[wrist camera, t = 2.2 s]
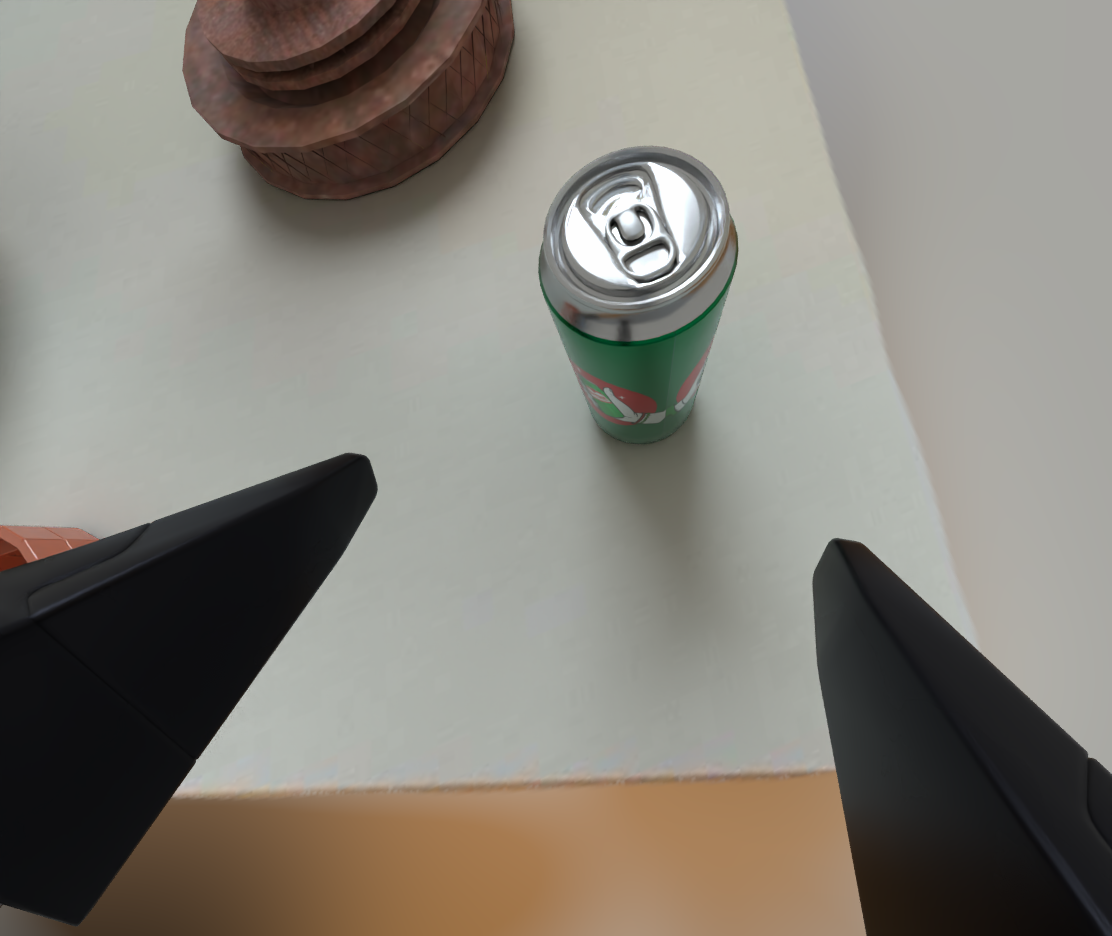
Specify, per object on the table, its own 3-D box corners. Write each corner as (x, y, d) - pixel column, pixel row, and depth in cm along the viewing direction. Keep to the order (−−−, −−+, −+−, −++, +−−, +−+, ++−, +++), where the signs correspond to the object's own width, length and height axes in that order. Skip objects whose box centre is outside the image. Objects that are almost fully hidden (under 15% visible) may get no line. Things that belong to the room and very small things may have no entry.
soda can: (666, 333, 22) (688, 95, 11) (711, 421, 21) (792, 260, 9) (574, 375, 23) (499, 193, 11) (613, 463, 21) (572, 361, 10)
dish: (141, 717, 24) (45, 749, 20) (-26, 759, 26) (-144, 795, 22) (135, 505, 27) (49, 497, 23) (-16, 555, 29) (-119, 556, 25)
